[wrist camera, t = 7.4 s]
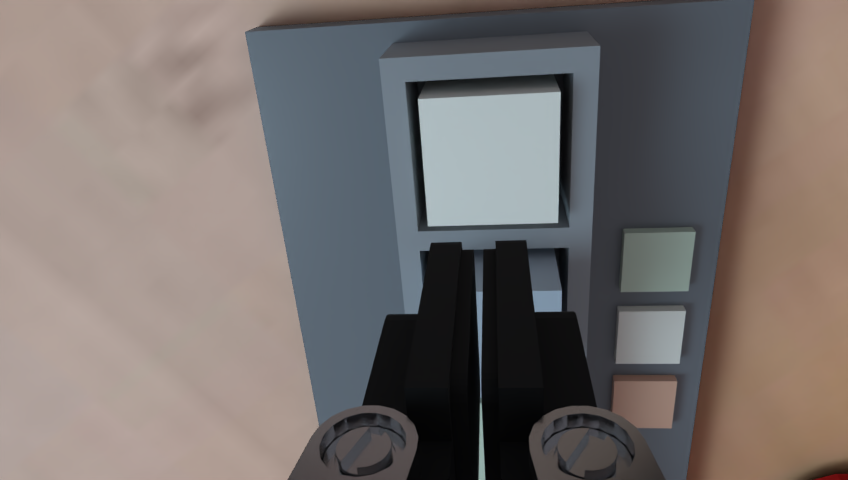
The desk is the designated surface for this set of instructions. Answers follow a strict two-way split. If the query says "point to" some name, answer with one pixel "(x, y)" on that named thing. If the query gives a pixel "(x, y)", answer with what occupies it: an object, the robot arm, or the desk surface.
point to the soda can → (835, 477)
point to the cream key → (491, 150)
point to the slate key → (542, 281)
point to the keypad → (571, 237)
